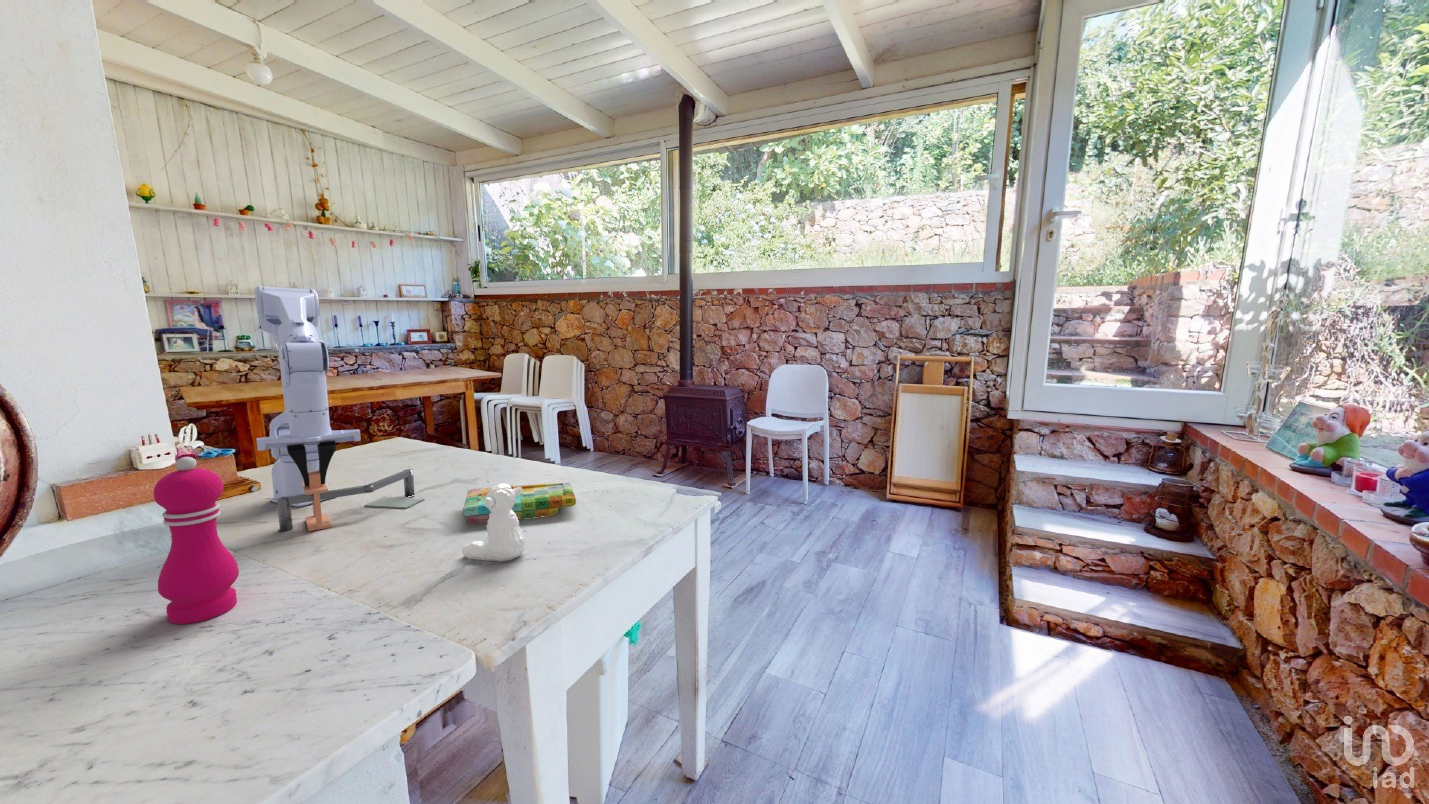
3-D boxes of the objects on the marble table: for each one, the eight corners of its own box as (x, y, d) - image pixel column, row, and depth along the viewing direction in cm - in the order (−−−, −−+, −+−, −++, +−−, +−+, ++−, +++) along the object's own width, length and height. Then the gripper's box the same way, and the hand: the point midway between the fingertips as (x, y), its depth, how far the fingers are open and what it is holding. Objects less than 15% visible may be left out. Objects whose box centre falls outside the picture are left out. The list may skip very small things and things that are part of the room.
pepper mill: (171, 634, 60) (150, 467, 58) (154, 615, 64) (134, 458, 62) (251, 607, 66) (235, 455, 64) (231, 591, 70) (215, 447, 68)
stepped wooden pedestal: (308, 531, 91) (303, 478, 90) (305, 519, 96) (301, 469, 95) (330, 527, 93) (326, 475, 92) (327, 516, 98) (323, 467, 97)
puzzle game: (467, 486, 105) (569, 478, 112) (468, 508, 105) (569, 499, 113) (462, 504, 94) (575, 494, 101) (463, 529, 95) (576, 517, 102)
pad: (406, 508, 104) (406, 507, 104) (364, 506, 104) (364, 505, 104) (424, 499, 109) (424, 498, 109) (384, 497, 110) (384, 496, 110)
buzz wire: (277, 530, 91) (274, 499, 90) (400, 492, 113) (398, 467, 113) (306, 537, 89) (303, 504, 88) (426, 497, 111) (425, 471, 110)
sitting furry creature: (513, 538, 90) (511, 471, 89) (544, 551, 85) (542, 480, 84) (460, 557, 82) (457, 484, 81) (491, 572, 78) (488, 495, 76)
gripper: (253, 416, 84) (261, 497, 86) (360, 409, 94) (365, 482, 95) (254, 411, 89) (261, 487, 91) (355, 405, 99) (360, 473, 101)
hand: (314, 484), depth 94 cm, fingers closed on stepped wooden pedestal
